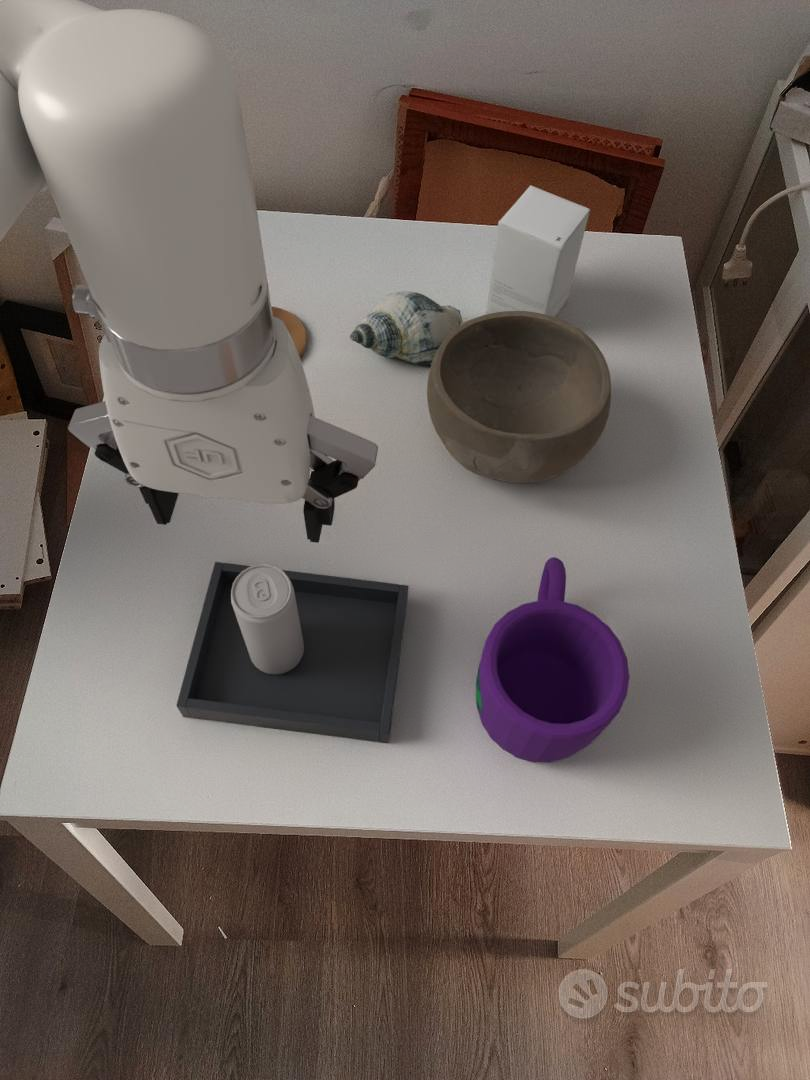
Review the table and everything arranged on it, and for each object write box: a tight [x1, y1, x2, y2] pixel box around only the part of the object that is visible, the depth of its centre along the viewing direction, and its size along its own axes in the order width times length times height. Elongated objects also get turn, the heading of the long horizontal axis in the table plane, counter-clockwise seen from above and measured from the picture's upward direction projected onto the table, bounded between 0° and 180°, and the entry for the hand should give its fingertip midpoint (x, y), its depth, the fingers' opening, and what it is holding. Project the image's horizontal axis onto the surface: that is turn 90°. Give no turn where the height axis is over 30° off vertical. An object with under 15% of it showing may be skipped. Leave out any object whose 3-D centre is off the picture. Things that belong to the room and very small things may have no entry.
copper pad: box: [271, 305, 308, 359], centre depth 91 cm, size 10×10×1 cm
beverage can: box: [231, 563, 304, 674], centre depth 68 cm, size 5×5×12 cm
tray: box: [176, 561, 409, 744], centre depth 72 cm, size 18×14×3 cm
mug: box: [475, 556, 630, 764], centre depth 69 cm, size 17×11×10 cm, turn 172°
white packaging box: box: [485, 184, 591, 318], centre depth 90 cm, size 7×7×13 cm
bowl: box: [426, 311, 612, 484], centre depth 82 cm, size 17×18×10 cm
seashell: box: [349, 290, 463, 366], centre depth 89 cm, size 6×8×12 cm
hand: (243, 514), depth 53 cm, fingers open, 9 cm apart
